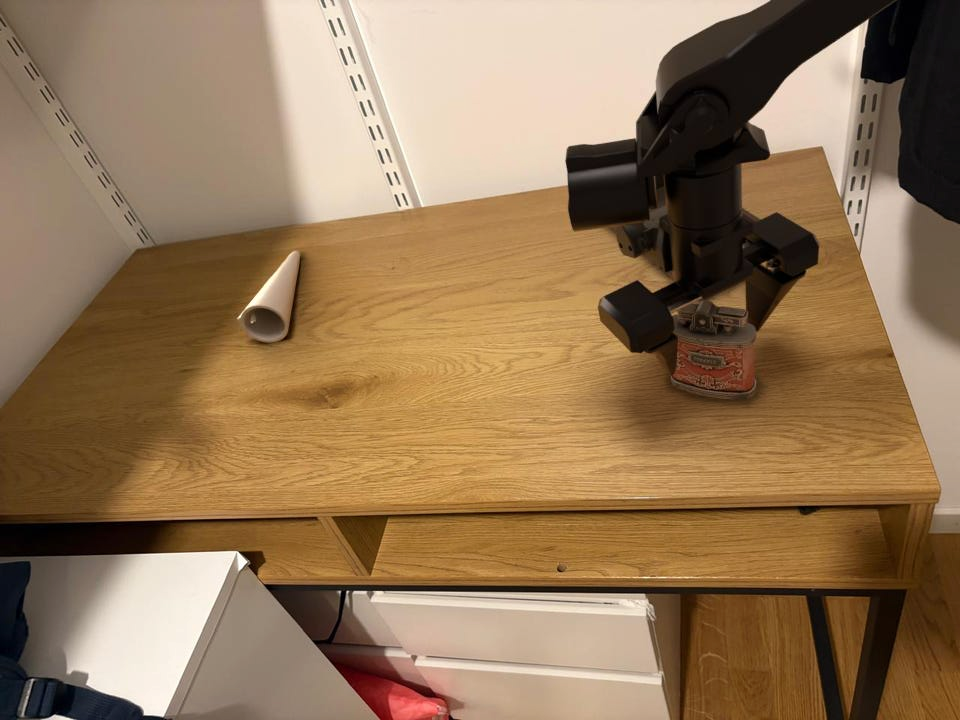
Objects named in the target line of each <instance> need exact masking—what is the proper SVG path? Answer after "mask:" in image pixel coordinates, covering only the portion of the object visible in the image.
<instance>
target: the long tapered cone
mask: <svg viewBox="0 0 960 720" xmlns="http://www.w3.org/2000/svg"><path fill="white" fill-rule="evenodd" d="M300 261H301V253H300V251H299V250H293V251H292V252H291V253H290V254H288V256H287V257H286V259H285V260H284V261H283V262H282V263H281V264H280V266H279V267H278V268H277V270H276V271H275V272H274V273H273V274H272V276H270V277H269V279H268V280H267V281H266V283H264V285H263V286H262V288H261V289H260V290H259V291H258V292H257V293H256V294H255V296H254V297H253V299H252V300H251V301H250V302H249V303H248V305H246V306H245V308H244V310H243V311H242V312H241V313H240V314H239V316H238V317H237V318H236V320H237V323H238V324H239V325H240V327H241V328H242V330H243V331H244V333H245V334H246V336H247V337H248V339H249V340H256V341H259V342H263V343H270V344H271V343H276V342H277V343H278V342H280V341H281V340H284V338H285V337H286V336H287V335H288V333H289V329H290V328H289V327H290V322H291V316H292V315H291V314H292V309H293V303H294V298H295V293H296V285H297V279H298V275H299V267H300ZM251 320H252V321H251Z"/></svg>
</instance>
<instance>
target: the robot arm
mask: <svg viewBox="0 0 960 720" xmlns="http://www.w3.org/2000/svg"><path fill="white" fill-rule="evenodd" d="M895 2H897V0H769V1H767V2H766V3H764V4H762V5H759V6H758V7H756V8H754V9H752V10H751V11H748V12H746V13H743V14H742V13H741V14H740V15H736V16H732V17H729V18H726V19H723V20H719V21H718V22H715V23H714V24H711V25H709V26H708V27H706V28H704V29H702V30H700V31H698V32H697V33H695V34H693V35H691V36H690V37H687V38H686V39H684V40H682V41H680V42H678V43H677V44H675V45H674V46H673V47H671V49H669V51H668V52H667V53H665V55H664V56H663V57H662V59H661V60H660V61H659V65H658V68H657V71H656V72H657V73H656V77H655V91H654V92H653V94H652V96H651V97H650V99H649V100H648V102H647V103H646V105H645V106H644V108H643V110H642V111H641V113H640V114H639V116H638V118H637V119H636V121H635V137H633V138H627V139H620V140H615V141H614V140H613V141H608V142H602V143H596V144H594V143H593V144H591V143H590V144H587V143H581V144H580V143H579V144H574V145H569V146H568V147H566V149H565V150H566V152H565V158H564V159H565V160H564V162H565V167H566V172H567V173H566V176H567V178H566V179H567V192H568V201H567V213H568V217H569V221H570V225H571V229H572V230H573V232H575V233H576V232H585V231H592V230H599V229H600V230H601V229H607V228H609V229H610V227H616V232H615V235H616V241H617V244H618V248H619V250H620V252H621V253H622V255H623V256H626V257H629V258H632V259H638V257H641V256H642V257H645V256H646V255H648V256H651V257H654V258H656V260H657V266H656V267H657V269H659V270H660V271H661V272H662V273H664V274H665V273H667V272H669V271H670V272H671V273H672V274H673V279H674V280H673V279H672V280H673V282H671V283H669V284H667V285H666V286H664V287H661V288H659V289H658V290H655V291H653V292H652V291H651V290H650V289H649V288H648V287H646V286H645V285H644V284H643V283H642V282H640V280H638V279H636V280H634V281H632V282H629V283H628V284H626V285H624V286H622V287H619V288H618V289H615V290H614V291H612V292H610V293H607V294H605V295H604V296H602V297H601V298H599V301H598V304H597V305H598V306H597V310H598V311H597V312H598V316H599V321H600V322H601V323H602V325H604V326H605V327H606V328H607V329H608V331H609V332H611V334H612V335H613V336H614V337H616V339H617V340H618V341H619V342H620V343H621V344H622V345H623V346H624V347H625V348H626V349H627V350H628V351H629V352H630V353H631V354H642V353H645V354H654V356H655V358H656V359H657V361H658V362H659V364H660V365H661V367H662V368H663V370H664V371H665V372H666V374H668V375H669V376H670V377H671V376H672V375H674V374H675V370H676V366H677V349H678V337H677V336H676V335H675V334H674V333H673V331H674V329H675V327H674V319H673V317H672V316H673V315H672V314H674V313H677V311H678V310H680V309H682V308H684V307H686V306H688V305H690V304H692V303H694V304H696V302H697V303H698V302H699V300H701V299H705V298H707V297H709V296H711V295H713V294H715V293H717V292H719V291H721V290H723V289H725V288H727V287H729V286H731V285H733V284H735V283H737V282H739V281H741V280H743V279H746V280H745V310H746V311H747V312H748V323H750V324H752V325H753V326H754V327H755V329H756V333H757V332H760V330H761V329H762V327H763V326H764V325H765V323H766V322H767V320H768V319H769V318H770V316H771V315H772V313H773V312H774V311H775V310H776V308H777V307H778V305H779V304H780V303H781V302H782V300H783V299H784V298H785V297H786V296H787V294H788V293H789V292H790V291H791V290H792V289H793V287H794V286H795V285H796V284H797V282H799V280H801V279H803V278H805V276H806V275H807V271H808V270H809V269H811V268H813V267H815V266H817V265H818V264H819V257H820V242H819V239H818V237H817V236H816V234H815V233H813V232H811V231H810V230H808V229H806V228H804V227H803V226H801V225H800V224H798V223H796V222H795V221H793V220H792V219H790V218H788V217H786V216H784V215H783V214H781V213H779V212H778V211H775V212H773V213H771V214H770V215H767V216H765V217H763V218H760V219H761V220H759V221H757V222H755V223H753V222H751V221H750V220H748V219H747V218H745V217H743V216H742V208H743V180H742V179H743V178H742V177H743V175H742V170H743V169H742V168H743V167H742V165H743V164H748V163H755V162H756V163H757V162H761V161H766V160H768V159H769V158H770V157H771V150H770V147H769V143H768V140H767V135H766V133H765V130H764V129H762V128H760V127H758V126H757V125H755V124H752V123H751V122H750V121H751V120H752V119H753V118H754V117H755V116H757V114H759V113H760V112H761V111H763V109H764V108H765V107H766V105H767V104H768V103H769V102H770V100H771V99H772V97H773V96H774V95H775V94H776V92H777V91H778V90H779V88H780V87H781V85H782V84H783V83H784V82H785V80H787V78H788V77H790V75H791V74H793V73H794V72H795V71H796V70H798V68H800V67H801V66H802V65H803V64H804V63H806V62H807V61H809V60H811V59H812V58H813V57H815V56H816V55H818V54H820V53H821V52H822V51H824V50H826V49H827V48H828V47H829V46H831V45H832V44H834V43H836V42H837V41H838V40H840V39H842V38H843V37H844V36H846V35H847V34H849V33H851V32H852V31H854V30H855V29H857V28H858V27H859V26H861V25H862V24H864V23H865V22H867V21H868V20H870V19H871V18H874V16H876V15H877V14H879V13H880V12H881V11H883V10H885V9H886V8H888V7H889V6H891V5H892V4H893V3H895ZM660 175H664V185H665V196H666V206H663V207H661V208H659V209H657V210H655V211H653V212H651V213H649V208H650V209H656V208H657V195H656V183H655V176H660Z"/></svg>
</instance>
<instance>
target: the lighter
mask: <svg viewBox="0 0 960 720" xmlns="http://www.w3.org/2000/svg"><path fill="white" fill-rule="evenodd" d="M672 317H673V319H674V327H675V329H674V331H673V333H674V334H675V335H676V336H677V337H678V349H677V366H676V370H675V374H674V375H672V376H670V382H671V384H672V385H673V387H675V388H677V389H679V390H683V391H686V392H688V393H690V394H696V395H699V396H704V397H709V398H716V399H724V400H748V399H751V398H752V397H753V396H754V395H755V393H757V392H756V391H757V379H756V378H755V342H756V341H757V332H756V329H755V327H754V326H753V325H752V324H750V323H748V312H747V311H746V308H741V307H740V308H739V307H731V306H720V305H719V306H717V305H716V304H714V302H713V301H711V300H709V299H706V300H702V301H700V302H697V303H692V304H690V305H688V306H686V307H684V308H682V309H680V310H678V311H676V314H674V315H672Z"/></svg>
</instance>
